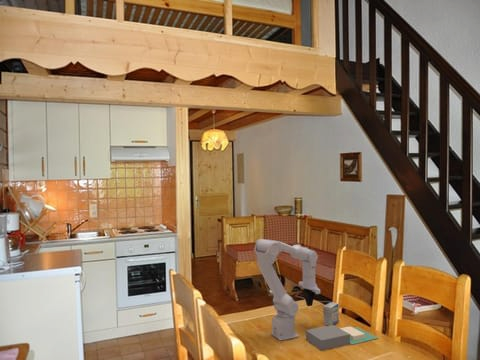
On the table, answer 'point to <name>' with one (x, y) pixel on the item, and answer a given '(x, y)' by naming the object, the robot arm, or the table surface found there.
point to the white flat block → (354, 333)
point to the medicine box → (331, 313)
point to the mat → (367, 337)
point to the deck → (327, 337)
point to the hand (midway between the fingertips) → (309, 305)
